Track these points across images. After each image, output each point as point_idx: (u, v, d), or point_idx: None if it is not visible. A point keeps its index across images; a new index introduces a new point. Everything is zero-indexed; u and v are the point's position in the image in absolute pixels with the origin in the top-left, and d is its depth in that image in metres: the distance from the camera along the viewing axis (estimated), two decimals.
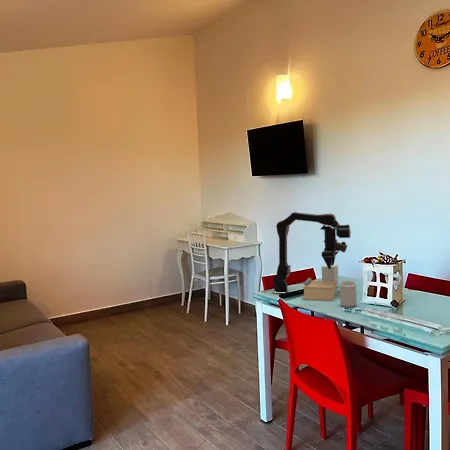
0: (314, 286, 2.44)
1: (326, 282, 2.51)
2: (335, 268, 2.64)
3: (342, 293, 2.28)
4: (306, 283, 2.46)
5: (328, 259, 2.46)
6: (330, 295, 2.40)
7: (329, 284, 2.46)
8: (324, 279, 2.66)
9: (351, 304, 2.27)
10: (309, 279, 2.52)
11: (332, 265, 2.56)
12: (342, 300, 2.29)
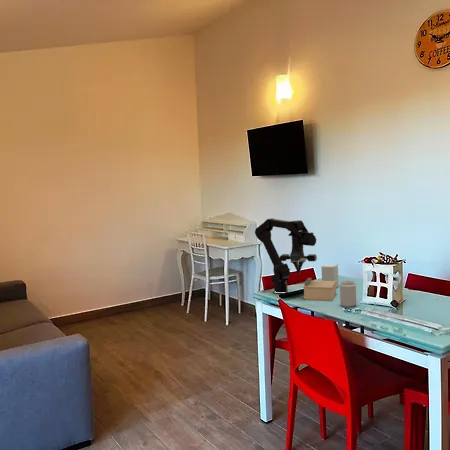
0: (314, 286, 2.44)
1: (326, 282, 2.51)
2: (335, 268, 2.64)
3: (342, 293, 2.28)
4: (306, 283, 2.46)
5: None
6: (330, 295, 2.40)
7: (329, 284, 2.46)
8: (324, 279, 2.66)
9: (351, 304, 2.27)
10: (309, 279, 2.52)
11: (298, 273, 2.52)
12: (342, 300, 2.29)
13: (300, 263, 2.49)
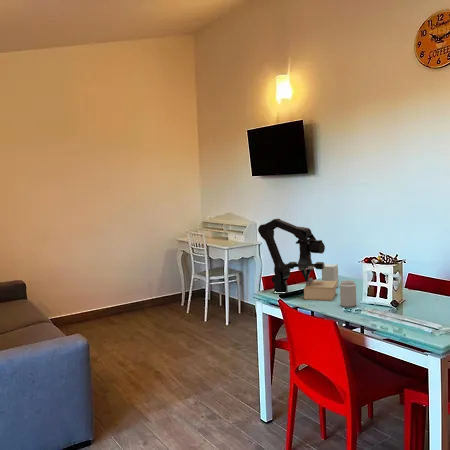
0: (315, 286, 2.44)
1: (327, 282, 2.51)
2: (335, 268, 2.64)
3: (342, 293, 2.28)
4: (307, 283, 2.46)
5: None
6: (330, 295, 2.40)
7: (330, 284, 2.46)
8: (324, 279, 2.66)
9: (351, 304, 2.27)
10: (310, 279, 2.52)
11: (306, 281, 2.51)
12: (342, 300, 2.29)
13: (308, 271, 2.48)
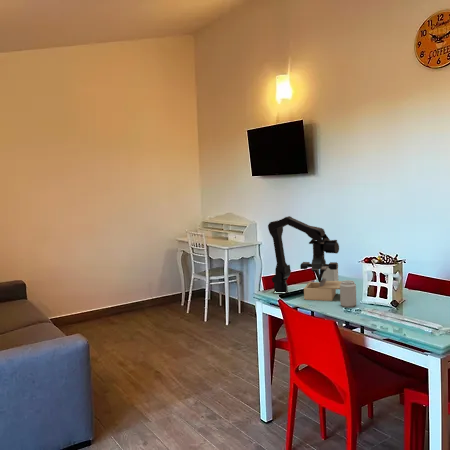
0: (329, 286, 2.41)
1: None
2: None
3: (342, 293, 2.28)
4: (321, 283, 2.43)
5: None
6: (330, 295, 2.40)
7: None
8: None
9: (351, 304, 2.27)
10: (324, 279, 2.49)
11: (319, 281, 2.49)
12: (342, 300, 2.29)
13: (321, 271, 2.45)
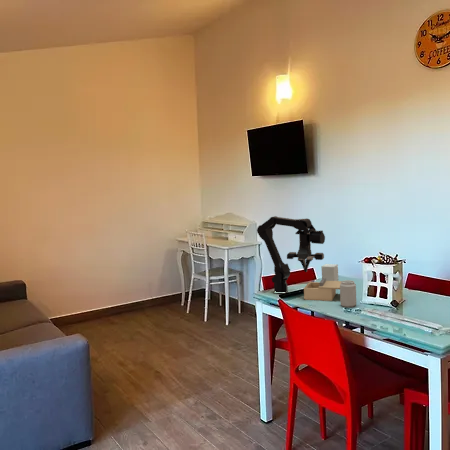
0: (329, 286, 2.41)
1: None
2: (335, 268, 2.64)
3: (342, 293, 2.28)
4: (321, 283, 2.43)
5: None
6: (330, 295, 2.40)
7: None
8: None
9: (351, 304, 2.27)
10: (324, 279, 2.49)
11: (305, 271, 2.53)
12: (342, 300, 2.29)
13: (307, 261, 2.49)
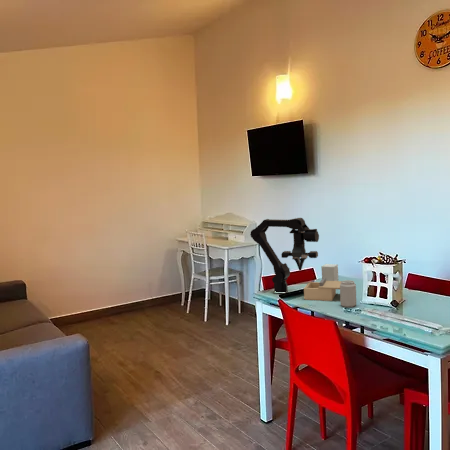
0: (329, 286, 2.41)
1: None
2: (335, 268, 2.64)
3: (342, 293, 2.28)
4: (321, 283, 2.43)
5: None
6: (330, 295, 2.40)
7: None
8: None
9: (351, 304, 2.27)
10: (324, 279, 2.49)
11: None
12: (342, 300, 2.29)
13: (302, 260, 2.53)
